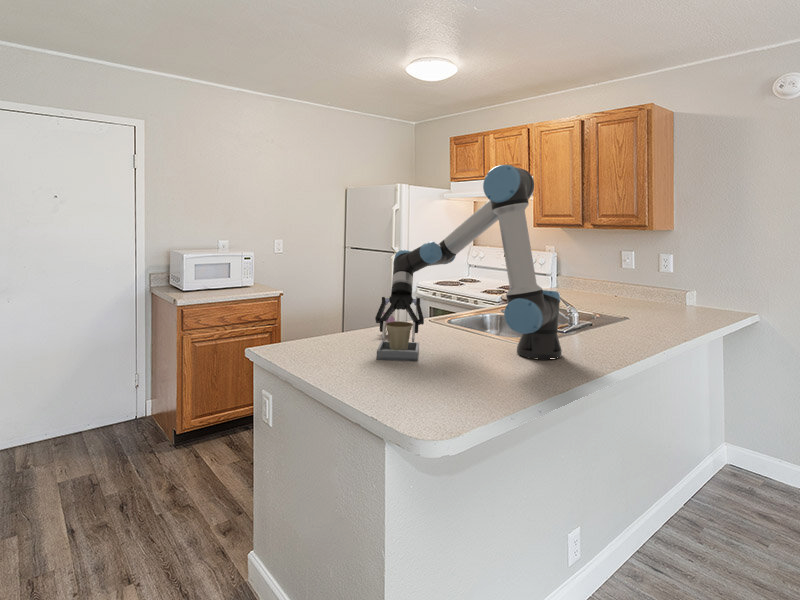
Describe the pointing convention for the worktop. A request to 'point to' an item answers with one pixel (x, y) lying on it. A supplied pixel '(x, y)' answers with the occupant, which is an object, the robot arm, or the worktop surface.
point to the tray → (398, 352)
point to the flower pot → (398, 334)
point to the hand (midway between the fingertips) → (398, 339)
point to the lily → (389, 319)
